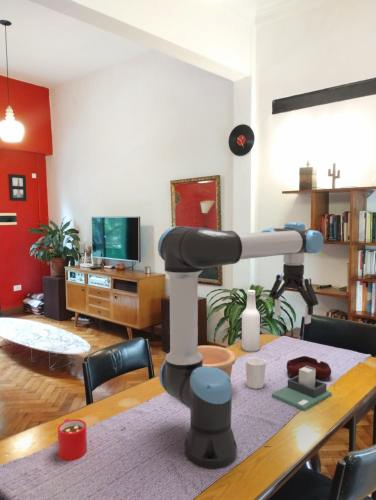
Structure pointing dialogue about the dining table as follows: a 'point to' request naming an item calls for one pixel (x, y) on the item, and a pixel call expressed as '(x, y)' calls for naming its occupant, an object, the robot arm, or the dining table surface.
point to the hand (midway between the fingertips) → (292, 319)
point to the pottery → (218, 358)
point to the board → (302, 394)
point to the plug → (307, 376)
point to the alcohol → (250, 324)
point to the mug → (72, 439)
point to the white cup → (255, 372)
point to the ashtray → (300, 362)
